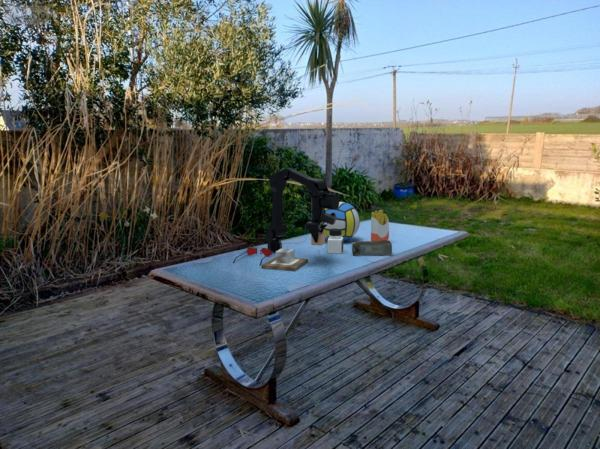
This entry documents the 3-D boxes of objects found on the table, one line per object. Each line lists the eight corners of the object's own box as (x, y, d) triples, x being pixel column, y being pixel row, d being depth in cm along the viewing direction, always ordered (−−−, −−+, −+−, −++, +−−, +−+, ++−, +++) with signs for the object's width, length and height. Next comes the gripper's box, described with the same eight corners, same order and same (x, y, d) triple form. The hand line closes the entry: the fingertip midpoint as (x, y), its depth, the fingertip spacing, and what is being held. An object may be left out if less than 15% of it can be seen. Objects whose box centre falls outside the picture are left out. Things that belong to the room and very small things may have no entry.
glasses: (273, 257, 207) (273, 247, 206) (260, 266, 191) (259, 255, 191) (247, 256, 211) (246, 246, 210) (232, 264, 196) (231, 254, 195)
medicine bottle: (341, 253, 209) (341, 230, 207) (327, 253, 211) (327, 229, 209) (343, 250, 216) (343, 227, 214) (329, 250, 218) (329, 227, 216)
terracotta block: (311, 244, 194) (311, 234, 193) (314, 242, 199) (314, 232, 198) (321, 245, 193) (321, 234, 192) (325, 243, 197) (324, 232, 196)
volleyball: (365, 238, 243) (366, 200, 240) (348, 246, 225) (348, 205, 222) (332, 235, 255) (331, 199, 251) (313, 242, 237) (312, 203, 233)
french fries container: (389, 242, 233) (389, 210, 229) (377, 245, 225) (378, 212, 222) (382, 241, 236) (382, 209, 233) (370, 244, 228) (370, 211, 225)
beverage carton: (351, 252, 213) (351, 239, 212) (390, 252, 212) (390, 239, 211) (352, 256, 205) (352, 243, 204) (392, 256, 204) (392, 242, 203)
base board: (261, 268, 187) (260, 253, 185) (276, 259, 201) (275, 245, 200) (295, 271, 181) (295, 255, 180) (308, 261, 196) (307, 247, 195)
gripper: (328, 211, 181) (329, 246, 184) (340, 205, 199) (340, 238, 201) (304, 210, 185) (305, 245, 188) (317, 205, 203) (318, 237, 205)
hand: (318, 241), depth 195 cm, fingers closed on terracotta block, 5 cm apart
